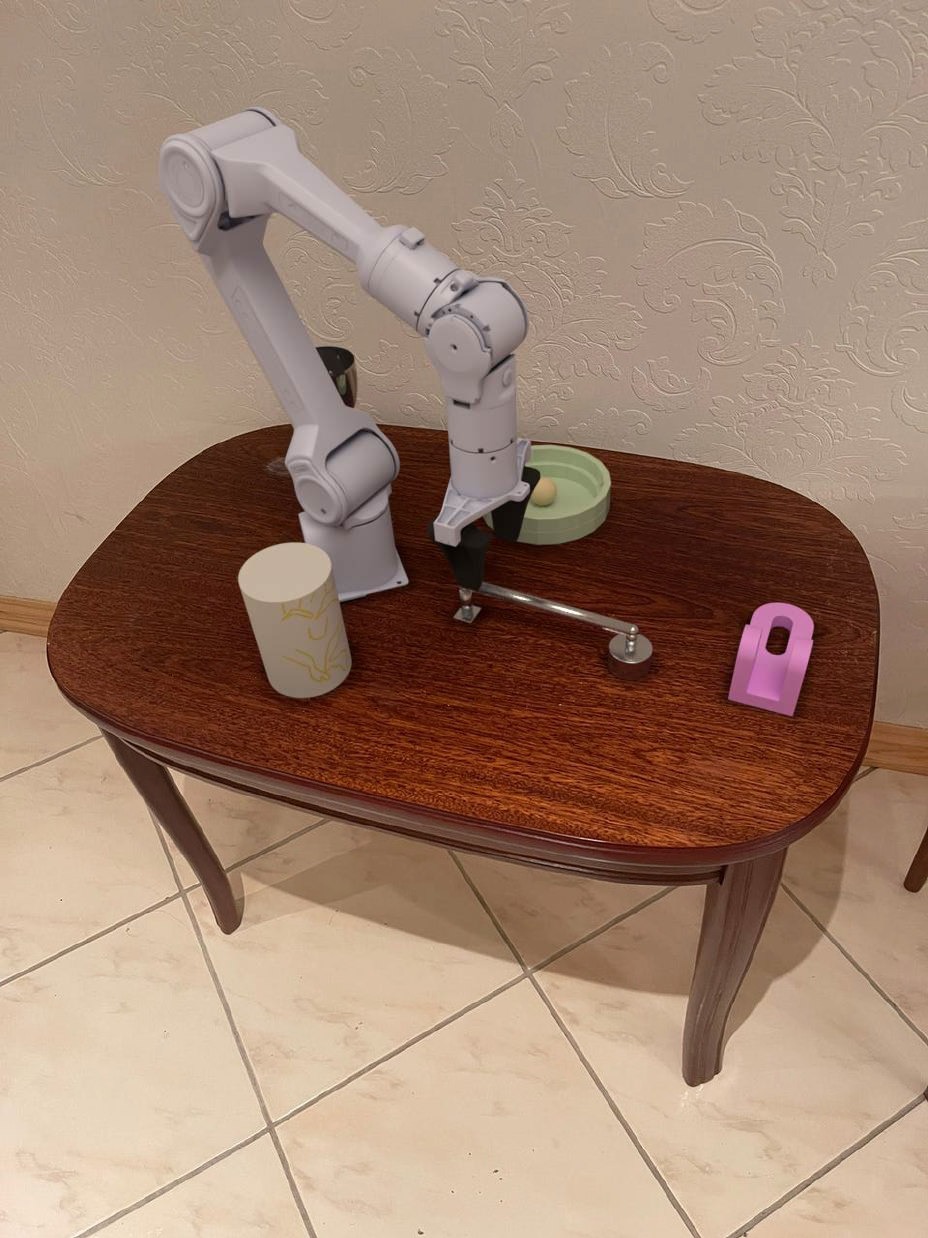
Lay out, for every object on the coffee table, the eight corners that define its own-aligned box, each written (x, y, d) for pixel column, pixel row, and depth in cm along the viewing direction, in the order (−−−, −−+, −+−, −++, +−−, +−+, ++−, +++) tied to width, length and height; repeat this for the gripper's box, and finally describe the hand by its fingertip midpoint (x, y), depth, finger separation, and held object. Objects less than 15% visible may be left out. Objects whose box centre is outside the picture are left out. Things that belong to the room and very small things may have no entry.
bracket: (792, 716, 77) (808, 660, 73) (727, 699, 79) (739, 643, 75) (814, 621, 86) (830, 565, 81) (756, 607, 88) (768, 552, 83)
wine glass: (303, 464, 112) (279, 354, 102) (364, 451, 114) (346, 340, 103) (314, 498, 106) (290, 385, 96) (379, 484, 108) (361, 370, 98)
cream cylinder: (310, 710, 81) (283, 614, 73) (250, 675, 85) (218, 580, 77) (368, 658, 86) (350, 562, 78) (309, 626, 90) (285, 531, 82)
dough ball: (540, 466, 100) (541, 481, 103) (522, 486, 100) (524, 501, 103) (562, 481, 99) (563, 496, 102) (544, 501, 99) (545, 515, 102)
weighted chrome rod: (656, 657, 84) (661, 617, 80) (642, 686, 81) (646, 646, 78) (467, 602, 91) (464, 563, 88) (449, 626, 89) (445, 588, 85)
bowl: (504, 560, 96) (503, 531, 93) (466, 488, 106) (464, 459, 103) (629, 530, 98) (632, 501, 95) (580, 463, 109) (581, 434, 106)
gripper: (484, 492, 68) (491, 622, 77) (562, 403, 77) (559, 529, 86) (406, 471, 70) (421, 599, 80) (489, 388, 79) (495, 511, 89)
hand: (488, 561), depth 83 cm, fingers open, 7 cm apart
